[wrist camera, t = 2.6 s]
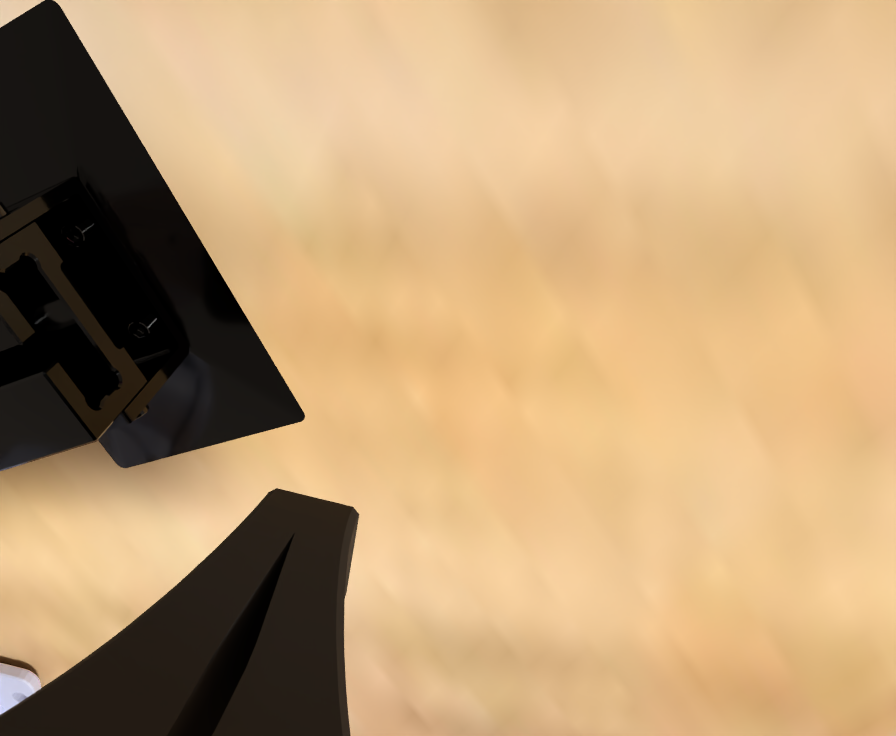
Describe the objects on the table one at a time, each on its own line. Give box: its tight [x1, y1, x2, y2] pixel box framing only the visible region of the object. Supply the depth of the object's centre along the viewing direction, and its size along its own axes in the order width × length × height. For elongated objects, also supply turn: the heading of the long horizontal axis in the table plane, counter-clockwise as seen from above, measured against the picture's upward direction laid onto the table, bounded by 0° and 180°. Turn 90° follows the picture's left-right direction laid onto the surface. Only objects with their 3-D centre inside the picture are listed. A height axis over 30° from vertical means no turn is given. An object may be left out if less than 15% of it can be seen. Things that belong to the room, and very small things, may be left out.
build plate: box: [0, 0, 305, 471], centre depth 16 cm, size 12×7×5 cm, turn 24°
